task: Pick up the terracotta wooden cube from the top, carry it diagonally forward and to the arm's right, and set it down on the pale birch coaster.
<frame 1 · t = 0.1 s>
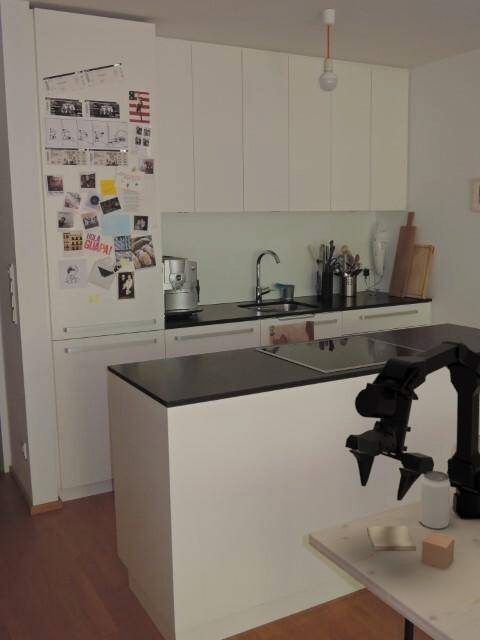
hand: (380, 493, 135), 15 cm above the table, tool pointing down, fingers open, 9 cm apart
coaster: (390, 540, 146), on the table
cube: (437, 561, 137), on the table
can: (434, 524, 154), on the table
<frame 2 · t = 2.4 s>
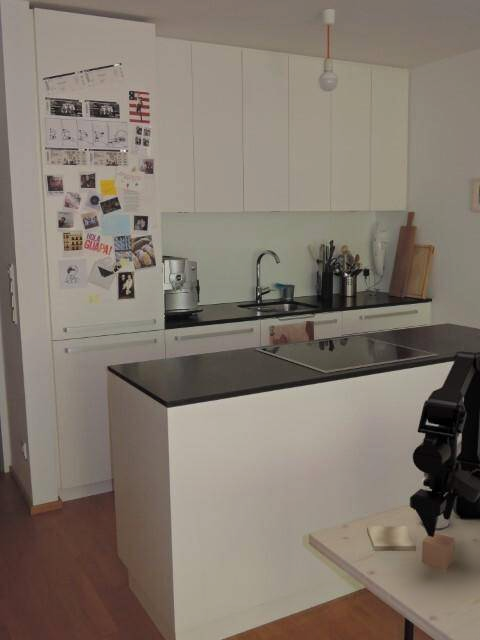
hand: (439, 527, 136), 8 cm above the table, tool pointing down, fingers open, 9 cm apart
nothing on the table moved.
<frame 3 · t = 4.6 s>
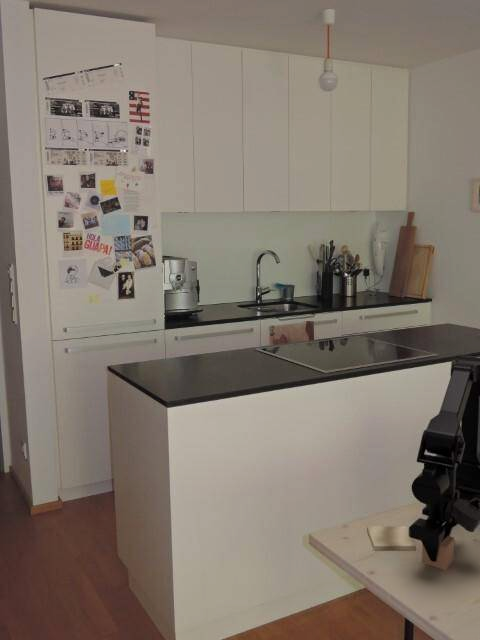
hand: (437, 555, 137), 1 cm above the table, tool pointing down, fingers closed on cube, 5 cm apart
cube: (437, 561, 137), on the table, touching gripper
everything else where it was.
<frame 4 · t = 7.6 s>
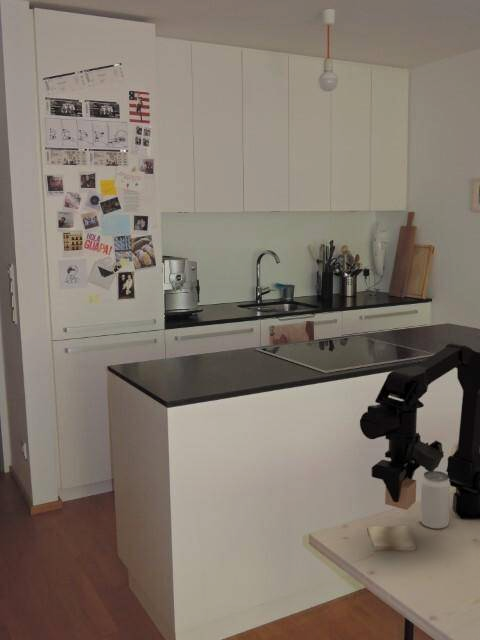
hand: (400, 497, 143), 11 cm above the table, tool pointing down, fingers closed on cube, 5 cm apart
cube: (400, 502, 143), point 10 cm above the table, touching gripper
everything else where it was.
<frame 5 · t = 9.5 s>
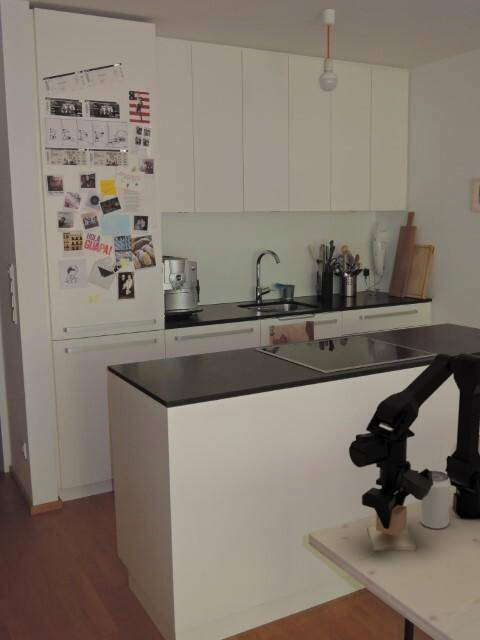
hand: (391, 523, 146), 4 cm above the table, tool pointing down, fingers closed on cube, 5 cm apart
cube: (391, 529, 146), point 3 cm above the table, touching gripper
everything else where it was.
when the fingers open (3 cm above the table, at t = 10.8 s): cube stays where it is, resting on coaster.
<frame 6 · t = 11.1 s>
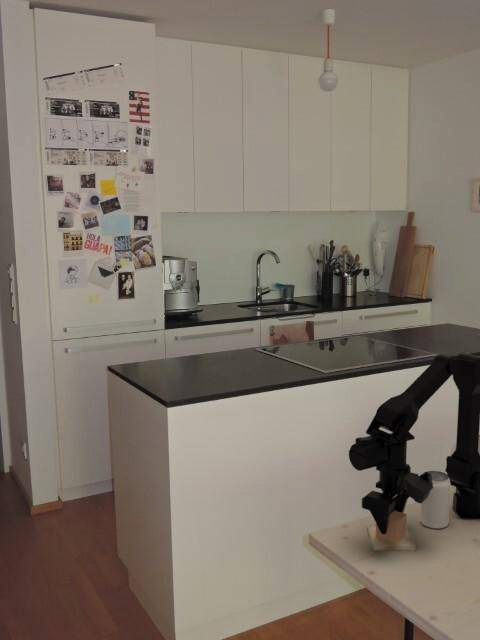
hand: (391, 526, 146), 3 cm above the table, tool pointing down, fingers open, 8 cm apart
cube: (390, 535, 146), point 1 cm above the table, touching coaster
everything else where it was.
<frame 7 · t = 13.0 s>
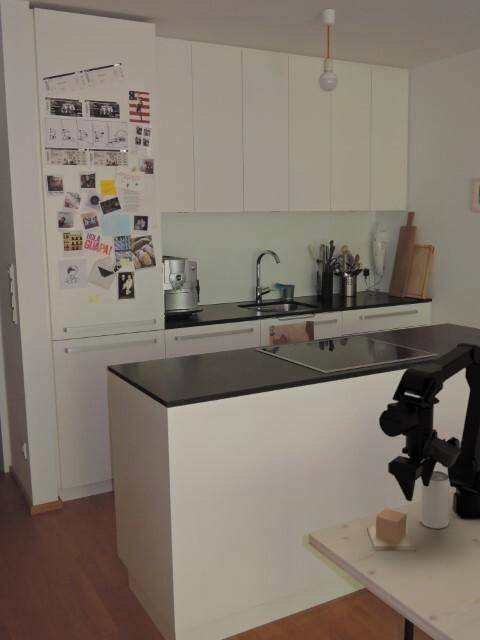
hand: (417, 493, 144), 11 cm above the table, tool pointing down, fingers open, 9 cm apart
nothing on the table moved.
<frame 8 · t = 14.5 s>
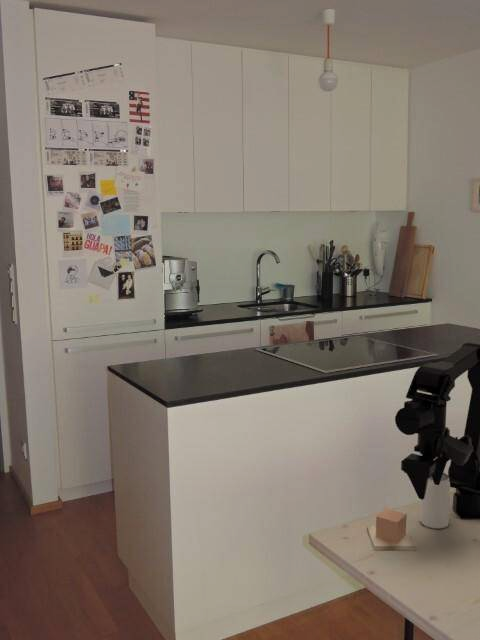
hand: (429, 491, 143), 12 cm above the table, tool pointing down, fingers open, 9 cm apart
nothing on the table moved.
at the end: cube 0.0 cm off-centre on the coaster, point 1.0 cm above the coaster's base; cube tilted 0°; the gripper is holding nothing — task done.
